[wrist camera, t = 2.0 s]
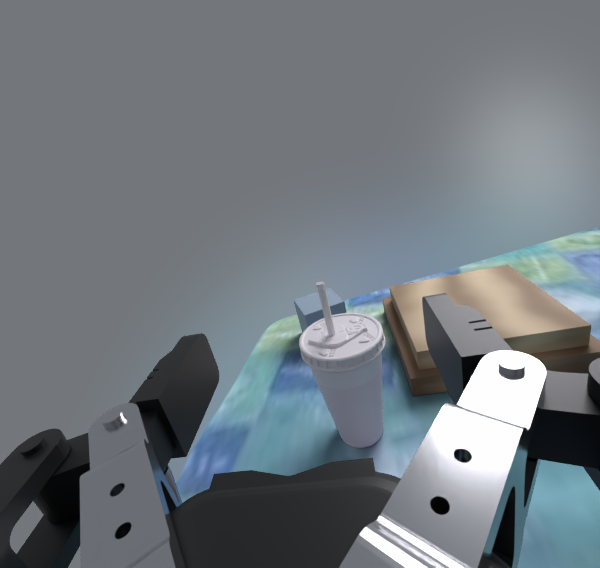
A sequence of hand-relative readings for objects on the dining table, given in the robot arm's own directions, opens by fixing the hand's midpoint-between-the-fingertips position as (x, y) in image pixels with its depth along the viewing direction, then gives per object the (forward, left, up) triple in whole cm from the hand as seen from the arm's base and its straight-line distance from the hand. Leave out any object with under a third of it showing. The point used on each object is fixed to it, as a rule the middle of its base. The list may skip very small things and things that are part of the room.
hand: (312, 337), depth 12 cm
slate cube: (+3, -27, -17) cm, 32 cm away
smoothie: (0, -11, -17) cm, 20 cm away
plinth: (-13, -22, -17) cm, 31 cm away
